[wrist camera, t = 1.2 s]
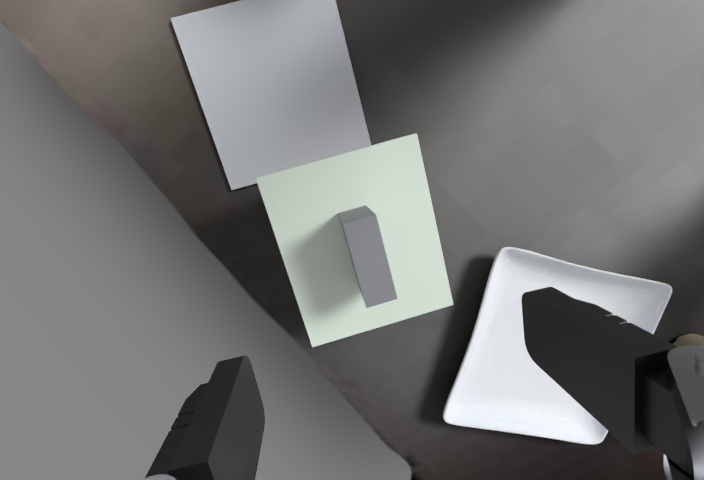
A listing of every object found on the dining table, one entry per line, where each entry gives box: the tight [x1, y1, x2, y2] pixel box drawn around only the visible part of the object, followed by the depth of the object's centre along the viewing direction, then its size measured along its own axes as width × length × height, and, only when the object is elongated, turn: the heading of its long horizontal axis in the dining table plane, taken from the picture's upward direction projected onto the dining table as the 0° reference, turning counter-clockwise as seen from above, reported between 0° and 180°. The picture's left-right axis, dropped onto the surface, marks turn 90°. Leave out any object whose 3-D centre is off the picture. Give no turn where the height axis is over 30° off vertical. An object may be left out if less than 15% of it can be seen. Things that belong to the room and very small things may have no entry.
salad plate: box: [443, 247, 673, 444], centre depth 41 cm, size 21×21×3 cm
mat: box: [170, 0, 371, 190], centre depth 32 cm, size 14×15×1 cm
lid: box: [256, 133, 453, 347], centre depth 27 cm, size 12×14×7 cm
